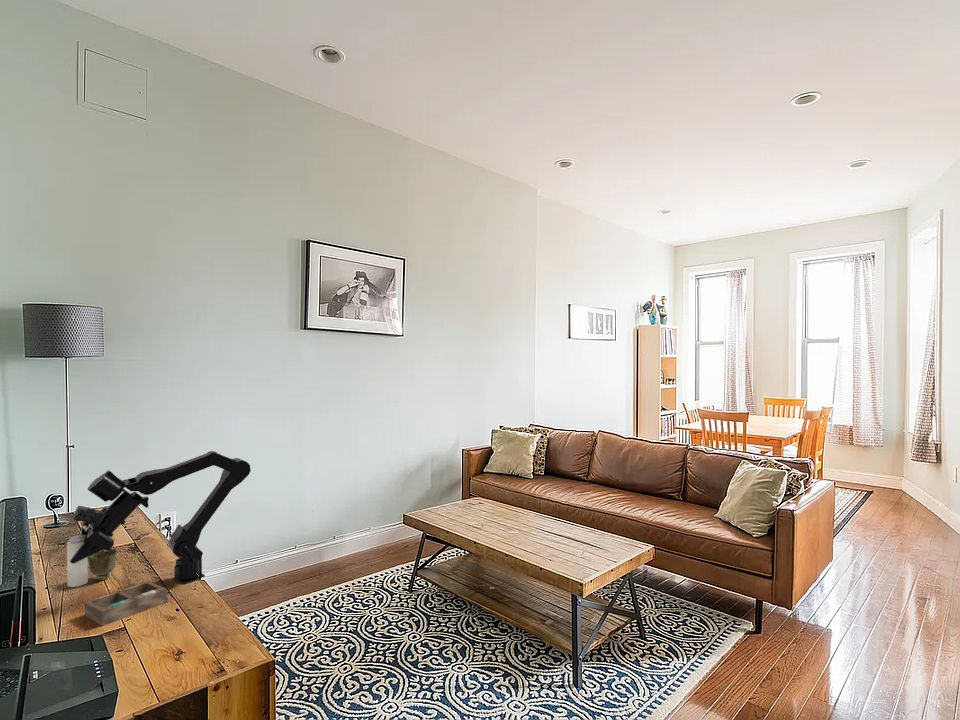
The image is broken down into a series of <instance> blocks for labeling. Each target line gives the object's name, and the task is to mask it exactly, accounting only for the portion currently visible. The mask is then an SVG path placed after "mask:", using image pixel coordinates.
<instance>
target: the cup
mask: <svg viewBox="0 0 960 720" xmlns="http://www.w3.org/2000/svg"><path fill="white" fill-rule="evenodd" d="M117 557H118V550H117V549H116V548H113V547H112V548H111V549H110V550H109V551H106V550H105V549H104V550H101V551H99V552H97V553H94V554H92V555H90V556H88V557H87V563H88V567H89V570H90V573H91V574H92V575H94V576H95V580H96V581H105V580H108V579H109V578H110V576H111V572H113V571H114V570H115V568H116V563H117Z"/></svg>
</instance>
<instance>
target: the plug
mask: <svg viewBox="0 0 960 720" xmlns="http://www.w3.org/2000/svg"><path fill="white" fill-rule="evenodd" d="M83 543H84V535H81V534H80V535H78V534H77V535H74V536H71V537H69V541H67V543H66V571H67V572H66V575H67V576H66V579H67V580H66V581H67V587H70V588H72V587H74V588H76V587H80V586H83V585H85V584H87V583H88V580H89V579H88V557H86V558H84V559H82V560H80V561H78V562H76V563H74V564H73V563H71V562H70V560H71V559H72V558H73V556H74V555H75V554H76V552H77V551H78V550H79V548H80V547H81V546H82V544H83Z"/></svg>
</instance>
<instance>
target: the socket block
mask: <svg viewBox="0 0 960 720" xmlns="http://www.w3.org/2000/svg"><path fill="white" fill-rule="evenodd" d="M165 603H168V588H167V587H166V588H165V587H163V586H161V585H158V584H156V583H154V582H151V581H145V582H141V583H139V584H136V585H133V586H130V587H128V588H124V589H121V590H118V591H115V592H112V593H108V594H106V595H103V596H100V597H97V598H94V599H91V600H87V601H84V611H83V613H84V617H86V618H88V619H89V620H91V621H92V622H94V623H97V624H98V625H99V626H107V625H109V624H112V623H114V622H116V621H119V620H122V619H125V618H128V617H131V616H133V615H136V614H138V613H141V612H144V611H146V610H149V609H151V608H155V607H158V606H160V605H163V604H165Z"/></svg>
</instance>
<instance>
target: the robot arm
mask: <svg viewBox="0 0 960 720" xmlns="http://www.w3.org/2000/svg"><path fill="white" fill-rule="evenodd" d="M213 466H215V467H217V468H220V469H222V472H221V476H220V478H219V481H218V482H217V484H216V485H215V487H213V489H212V490H211V492H210V493H209V495H208V497H206V498H205V500H204V502H203V503H202V504H201V505H200V506H199V508H198V510H197V511H196V512H195V513H194V515H193V516H192V517H191V519H190V520H189V521H188V522H187V523H185V524H184V525H183V526H182V525H181V524H178V525H177V526H176V528H175V529H174V530H173V532H172V533H171V534H170V535H169V540H168V542H167V543H168V548H169V550H170V551H171V552H172V553H173V554H174V555H175V557H178V558H177V559H175V565H174V567H173V568H174V576H173V577H172V579H173V581H176V582H179V583H181V584H188V583H191V582H195V581H197V580H199V579H201V578H204V577H206V575H205V574H204V573H203V566H202V565H203V554H204V553H203V551H202V550H201V549H200V548H199V547H198V546H197V544H198V543H199V539H200V537H201V533H202V530H203V529H204V528H205V526H206V525H207V524H208V522H209V521H210V520H211V518H212V516H213V515H215V513H216V511H218V508H219V507H220V506H221V505H222V504H223V502H224V501H225V500H226V498H227V497H228V495H229V494H230V493H231V491H232V490H233V489H234V488H236V487H237V486H238V485H240V484H241V483H242V482H243V481H244V480H246V478H248V477H249V475H250V474H251V471H252V470H251V465H250V463H249V462H248V461H246V460H243V459H241V458H238V457H235V458H230V457H227V456H225V455H223V454H220V452H217V451H214V450H209V451H208V452H207V453H204V454H200V455H198V456H196V457H194V458H190V459H187V460H185V461H182V462H180V463H177V464H174V465H171V466H169V467H165V468H157V469H150V470H146V471H143V472H140V473H138V474H137V475H136V476H134V477H129V478H128V479H123V480H122V479H120V478H119V477H118V476H117V475H115V474H114V473H113V472H112V471H111V470H110V469H109V470H106V471H105V472H104V473H102V474H101V475H100V476H99V477H96V478H95V479H94V480H93V481H92V482H91V483H90V484H89V485H88V487H87V491H89V492H90V493H92V495H94V496H96V497H97V498H99V499H100V500H101V501H103V502H104V503H105V502H108V501H110V502H112V503H111V504H110V505H109V506H108V507H107V506H104V507H103V508H102V509H101V510H99V509H95V508H93V507H92V508H91V507H87V506H83V505H78V506H77V507H76V509H75V511H74V513H73V515H72V519H73V521H76V522H80V523H81V526H82V527H80V535H84V543H83V544H82V546H81V547H80V548H79V550H78V551H77V552H76V554H75V555H74V556H73V558H72V559H71V560H70V562H71V563H73V564H74V563H76V562H78V561H80V560H82V559H84V558H86V557H87V558H88V556H90V555H92V554H94V553H97V552H99V551H101V550H105V552H106V551H109V550H110V549H111V548H112V549H113V547H114V545H115V544H114V542H115V540H114V539H113V536H114V532H115V531H116V530H117V529H118V528H119V527H120V526H121V525H122V526H123V525H125V524H126V523H127V522H126V520H127V518H129V517H130V516H131V515H132V514H133V513H134V511H135V510H136V509H138V508H139V507H140V505H142V506H143V507H144V508H146V509H147V508H149V497H148V496H150V495H153V494H155V493H156V492H159V491H160V490H162V489H164V488H166V487H167V486H168V485H169V484H170V483H172V482H174V481H177V480H179V479H181V478H184V477H187V476H189V475H192V474H194V473H196V472H199V471H203V470H204V469H207V468H210V467H213ZM126 489H127V490H126ZM129 491H130V492H131V493H130V492H129ZM138 492H139V493H140V494H142V495H145V496H141V495H140V494H139V493H138ZM84 527H85V528H84ZM196 573H197V574H198V575H199V577H200V578H198V575H197V574H196Z"/></svg>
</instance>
